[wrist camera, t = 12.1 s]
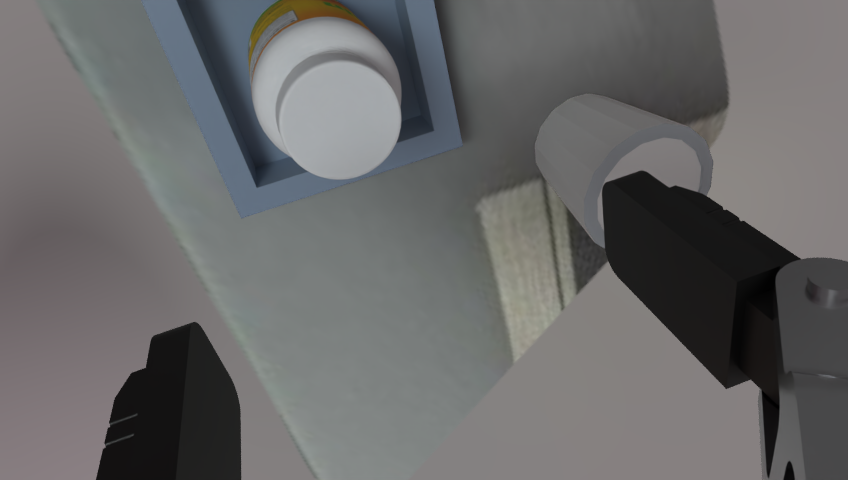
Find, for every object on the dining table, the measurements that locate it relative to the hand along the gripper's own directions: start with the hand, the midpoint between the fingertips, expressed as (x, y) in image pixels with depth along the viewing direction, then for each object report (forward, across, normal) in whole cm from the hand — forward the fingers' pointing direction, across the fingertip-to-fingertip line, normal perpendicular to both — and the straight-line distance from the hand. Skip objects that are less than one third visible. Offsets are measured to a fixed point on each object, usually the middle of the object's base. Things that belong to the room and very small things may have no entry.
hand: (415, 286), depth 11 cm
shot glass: (+20, -13, +9) cm, 25 cm away
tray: (+20, 0, 0) cm, 20 cm away
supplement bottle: (+19, 0, 0) cm, 19 cm away
